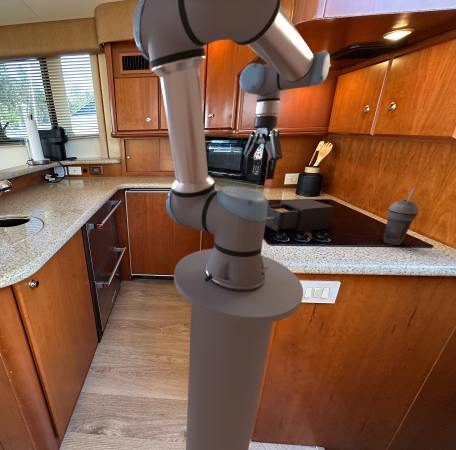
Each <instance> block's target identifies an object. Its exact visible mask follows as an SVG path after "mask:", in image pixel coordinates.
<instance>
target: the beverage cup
mask: <svg viewBox="0 0 456 450" xmlns="http://www.w3.org/2000/svg"><path fill="white" fill-rule="evenodd" d="M415 190H416V188H415V187H412V190H411V191H410V194H409V196H408V198H407V199H400V200H397V201H395V202H393V203H392V204H391V205H390V206H389V208H388V211H387V221H386V225H385V229H384V234H383V239H382V241H383V242H384V243H385V244H388V245H394V246H399V245H401V243H402V242H403V241H404V239H405V236H406V235H407V232H408V231H409V229H410V227H411V225H412V223H413V221H414V220H415V219H416V218H417V216H418V215H419V207H418V205H417V203H415V202H414V201H412V200H411V198H412V197H413V194H414V192H415Z"/></svg>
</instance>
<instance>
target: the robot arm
mask: <svg viewBox="0 0 456 450" xmlns="http://www.w3.org/2000/svg"><path fill="white" fill-rule="evenodd" d="M137 2H138V3H137V4H136V6H135V9H134V12H133V13H134V14H133V20H132V29H133V37H134V42H135V43H136V44H135V45H136V47H137V49H138V51H139V52H141V55H142V56H143V58H144V59H146V60H147V61H148V62H150V68H151V71H152V72H153V73H154V74H155V75H156V76H158V77H159V81H160V87H161V93H162V99H163V105H164V112H165V118H166V125H167V130H168V138H169V143H170V150H171V156H172V157H171V158H172V163H173V169H174V175H175V176H174V177H175V180H174V181H173V182H172V184H171V189H170V190H169V192H168V194H167V197H168V198H166V200H165V203H166V204H165V205H166V206H165V208H166V212H167V214H168V216H169V218H170V219H171V220H172V221H173V222H174V223H177V224H179V225H181V226H184V227H186V228H191V229H194V230H197V231H200V232H204V233H207V234H210V235H213V236H214V241H213V248H212V249H213V250H212V253H211V255H210V257H209V260H208V262H207V264H206V276H207V277H206V278H205V279H204V280H205V281H206V282H207V281H209V280H210V281H211V282H212V283H214V284H215V285H217V286H219V287H221V288H224V289H227V290H231V291H238V292H248V291H253V290H256V289H259V288H260V287H262V286H263V284H264V282H265V271H266V270H267V269H268V266H266V267H265V268H264V265H263V260H262V256H263V255H262V248H263V241H264V236H265V230H266V225H265V224H266V219H267V206H269V202H268V201H269V200H268V199H267V197H266V196H265V195H264V194H262V193H261V192H260V191H257V190H255V189H252V188H249V187H248V188H247V187H244V186H235V185H226V186H222V187H220V188H219V189H218V190H216V186H215V179H214V178H213V176H211V175H209V174H208V173H209V170H208V169H209V168H208V160H207V149H206V134H205V124H204V123H205V122H204V114H203V113H204V111H203V99H202V89H201V87H202V86H201V77H200V76H201V75H200V68H201V66H202V65H203V63H204V62H205V60H206V46H207V45H210V44H212V43H215V42H219V41H226V40H230V41H233V43H235V44H236V45H238V46H242V47H243V46H244V47H245V46H247V47H249V48H250V49H251V50H252V51H253V52H254V53H255V54H256V55H258V56H259V57H260V58H261V59H262V60H263V61H264V62H265V63H266V64H261V63H260V62H259V63H255V62H253V63H249V64H248V65H247V66H246V67H244V69H243V70H242V72H241V73H240V76H239V86H240V88H241V90H242V91H244V92H245V93H247V94H251V95H256V103H255V111H254V115H255V117H254V120H253V129H256V130H250V132H249V133H250V134H249V137H248V141H247V144H246V146H245V148H244V151H243V156H245V158H246V160H245V170H244V175H253V168H254V160H255V154H256V152H257V150H258V149H259V147H260V146H261V145H263V146H264V147H265V149H266V152H267V155H268V159H267V164H266V170H265V171H266V172H265V178H264V179H265V180H274V177H275V171H276V168H277V163H278V160H282V158H283V151H282V146H281V139H280V132H281V131H280V129H275V128H276V127H277V125H278V116H277V115H278V114H279V111H280V110H279V109H280V103H281V97H282V91H287V90H293V89H294V90H295V89H300V88H310V87H313V86H318V85H322V84H323V83H324V82H325V80H326V79H327V77H328V74H329V70H330V62H331V57H330V53H329V52H328V51H316V52H314V53H313V52H312V51H311V50H310V47H308V44H307V43H306V41H305V39H303V37H302V35H301V34H300V32H299V31H298V29H297V27H296V26H295V24H294V23H293V21H292V20H291V19H290V17H289V16H288V14H287V12H286V11H285V10H284V8H283V6H282V0H138V1H137ZM261 255H262V256H261Z"/></svg>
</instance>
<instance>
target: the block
mask: <svg viewBox="0 0 456 450" xmlns="http://www.w3.org/2000/svg"><path fill="white" fill-rule="evenodd" d="M275 210H277V211H280V212H282V214H283V212H286V211H288V210H286V209H275ZM281 219H282V218H281ZM280 225H281V224H280Z"/></svg>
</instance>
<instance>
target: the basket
mask: <svg viewBox="0 0 456 450" xmlns="http://www.w3.org/2000/svg"><path fill="white" fill-rule="evenodd" d="M275 209H286V210H288V211H286V212H283V214H282V212H280V211H277V210H275ZM300 213H301V210H298V209H296V208H293V207H290V206H287V205H285V204H282V205H280V204H273V205H272V204H271V205H268V206H267V219H266V224H265V227H268V228H270V229H271V230H273V231H275V232H280V230H289V229H290V230H291V229H292V228H298V223H299V218H300ZM281 218H282V219H281ZM280 224H281V225H280Z"/></svg>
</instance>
